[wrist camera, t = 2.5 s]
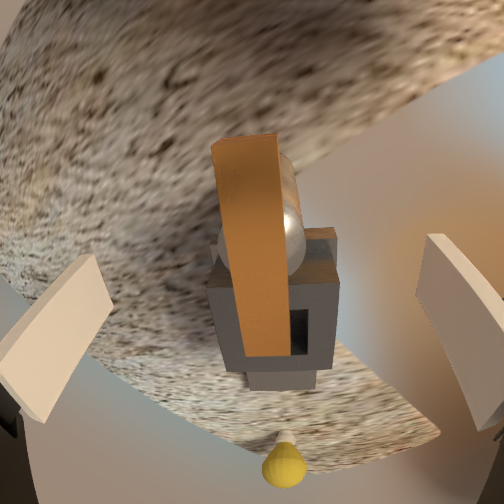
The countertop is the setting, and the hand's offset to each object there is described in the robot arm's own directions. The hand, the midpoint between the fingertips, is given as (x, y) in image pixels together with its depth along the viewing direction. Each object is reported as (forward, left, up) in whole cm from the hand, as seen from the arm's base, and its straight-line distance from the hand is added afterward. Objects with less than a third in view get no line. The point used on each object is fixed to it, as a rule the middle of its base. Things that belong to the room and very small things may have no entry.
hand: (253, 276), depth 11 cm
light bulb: (+19, +35, -14) cm, 42 cm away
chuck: (+5, +9, -14) cm, 17 cm away
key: (0, 0, -14) cm, 14 cm away
